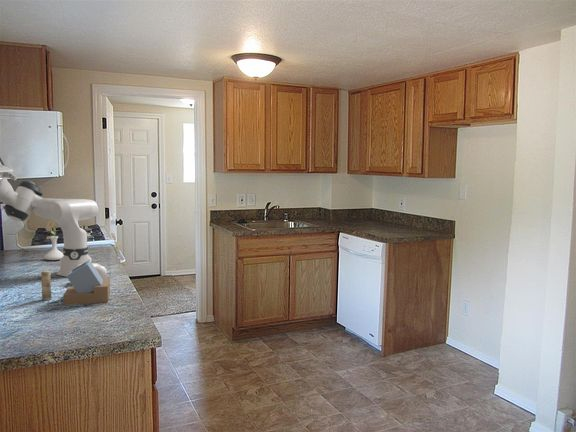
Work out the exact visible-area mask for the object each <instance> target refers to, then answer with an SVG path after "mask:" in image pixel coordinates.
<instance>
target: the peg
mask: <svg viewBox="0 0 576 432" xmlns="http://www.w3.org/2000/svg"><path fill="white" fill-rule="evenodd" d="M40 274H41V300H42V301H45V302H46V301H50V300H52V286H51V285H52V284H51V283H52V282H51V281H52V280H51V279H52V278H51V277H52V276H51V271H50V270H43V271H41V273H40Z"/></svg>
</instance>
